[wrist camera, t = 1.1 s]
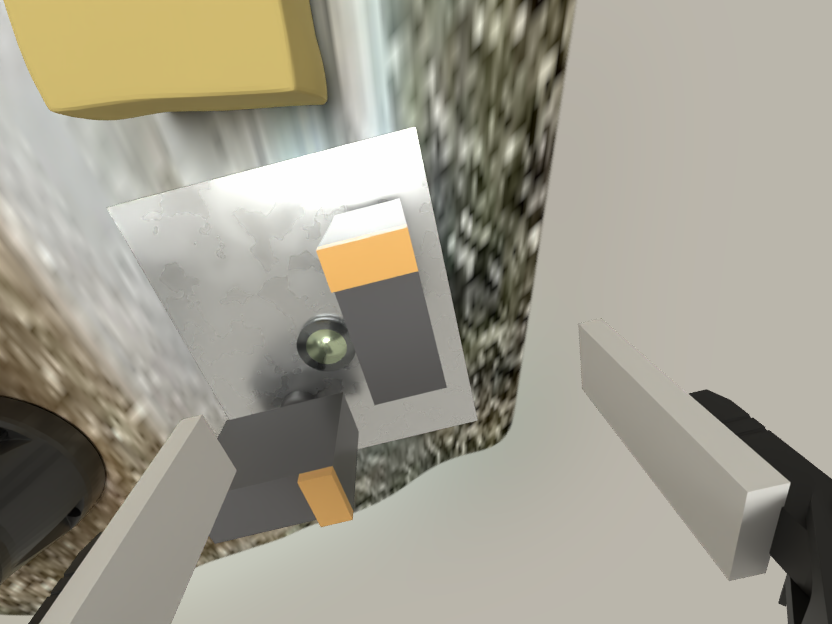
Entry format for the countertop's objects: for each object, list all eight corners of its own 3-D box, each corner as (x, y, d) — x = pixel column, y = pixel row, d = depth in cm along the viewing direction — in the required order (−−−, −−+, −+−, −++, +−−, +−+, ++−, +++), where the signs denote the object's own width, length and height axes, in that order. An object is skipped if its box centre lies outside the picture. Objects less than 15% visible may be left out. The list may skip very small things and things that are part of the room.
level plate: (265, 455, 36) (258, 478, 34) (125, 202, 26) (99, 209, 24) (472, 405, 36) (479, 425, 34) (412, 127, 26) (416, 127, 23)
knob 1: (258, 435, 33) (211, 552, 24) (237, 399, 31) (179, 510, 22) (360, 411, 33) (352, 519, 24) (345, 372, 31) (331, 474, 22)
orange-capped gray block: (427, 312, 29) (448, 394, 20) (376, 324, 29) (374, 412, 20) (397, 192, 25) (407, 227, 16) (339, 207, 25) (316, 250, 16)
